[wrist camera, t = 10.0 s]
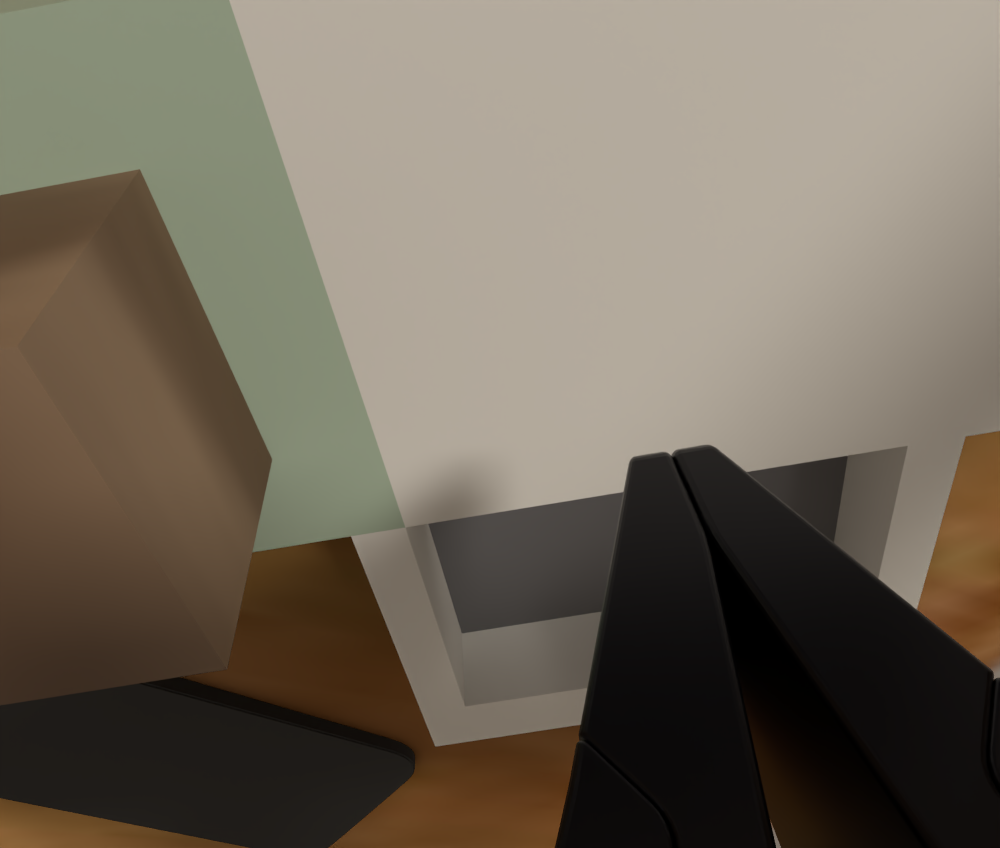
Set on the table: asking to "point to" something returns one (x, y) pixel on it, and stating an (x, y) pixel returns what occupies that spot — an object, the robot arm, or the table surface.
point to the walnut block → (114, 450)
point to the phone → (197, 764)
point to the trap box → (554, 275)
